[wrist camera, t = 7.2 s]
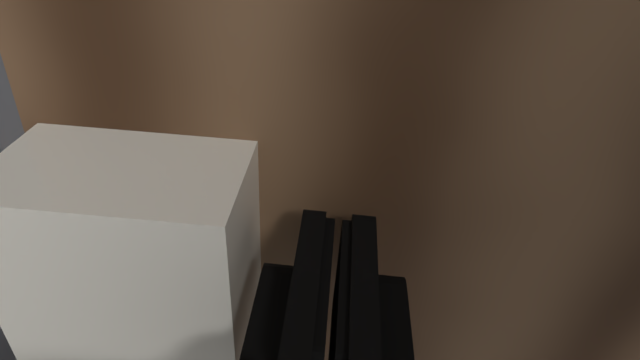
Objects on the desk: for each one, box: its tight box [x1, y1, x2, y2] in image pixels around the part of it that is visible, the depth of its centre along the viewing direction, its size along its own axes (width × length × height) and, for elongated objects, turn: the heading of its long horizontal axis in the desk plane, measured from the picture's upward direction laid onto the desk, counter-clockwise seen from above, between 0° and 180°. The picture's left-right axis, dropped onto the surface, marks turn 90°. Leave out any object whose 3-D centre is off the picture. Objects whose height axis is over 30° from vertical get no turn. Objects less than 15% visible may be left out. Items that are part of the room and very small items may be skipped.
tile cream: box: [0, 123, 261, 360], centre depth 11 cm, size 5×5×3 cm
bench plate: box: [0, 0, 640, 360], centre depth 13 cm, size 18×16×3 cm
